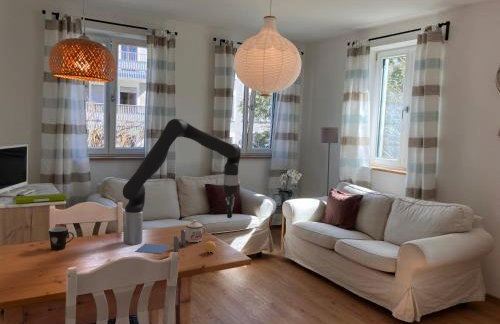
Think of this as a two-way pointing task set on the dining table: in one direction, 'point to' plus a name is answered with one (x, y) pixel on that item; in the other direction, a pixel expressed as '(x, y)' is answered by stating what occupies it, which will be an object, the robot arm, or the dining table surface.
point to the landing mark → (153, 248)
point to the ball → (210, 246)
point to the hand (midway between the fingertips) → (229, 217)
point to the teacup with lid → (194, 231)
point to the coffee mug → (58, 238)
